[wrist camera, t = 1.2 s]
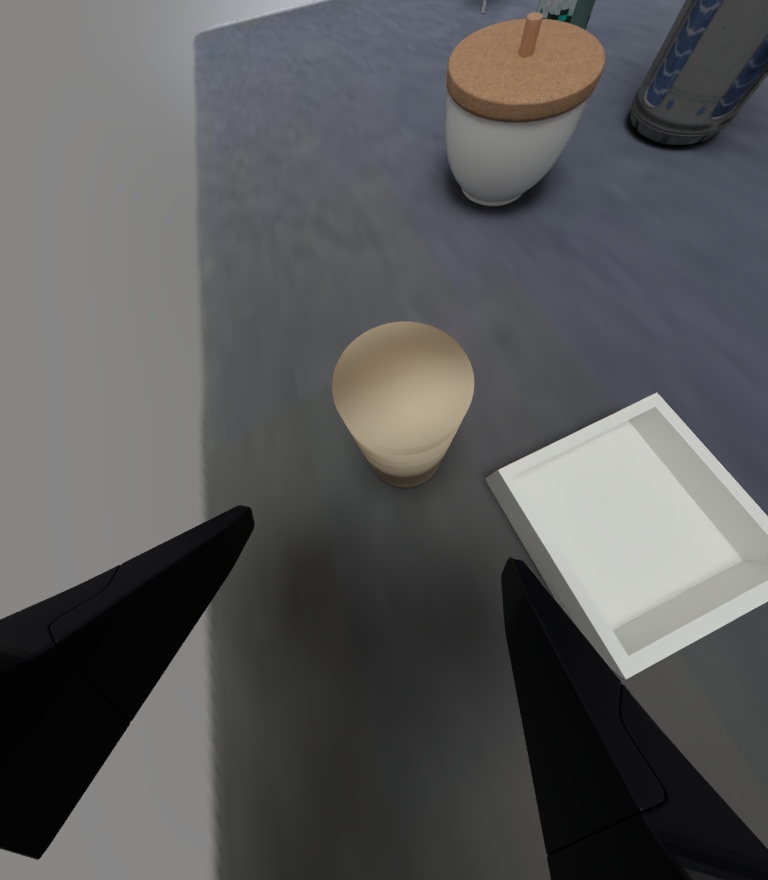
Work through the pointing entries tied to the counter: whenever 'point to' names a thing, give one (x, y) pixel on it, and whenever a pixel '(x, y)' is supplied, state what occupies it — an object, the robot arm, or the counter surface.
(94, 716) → the robot arm
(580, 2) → the can
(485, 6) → the lollipop
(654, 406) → the tray
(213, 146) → the counter surface
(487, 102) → the lidded bowl
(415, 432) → the canister
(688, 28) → the beverage bottle
